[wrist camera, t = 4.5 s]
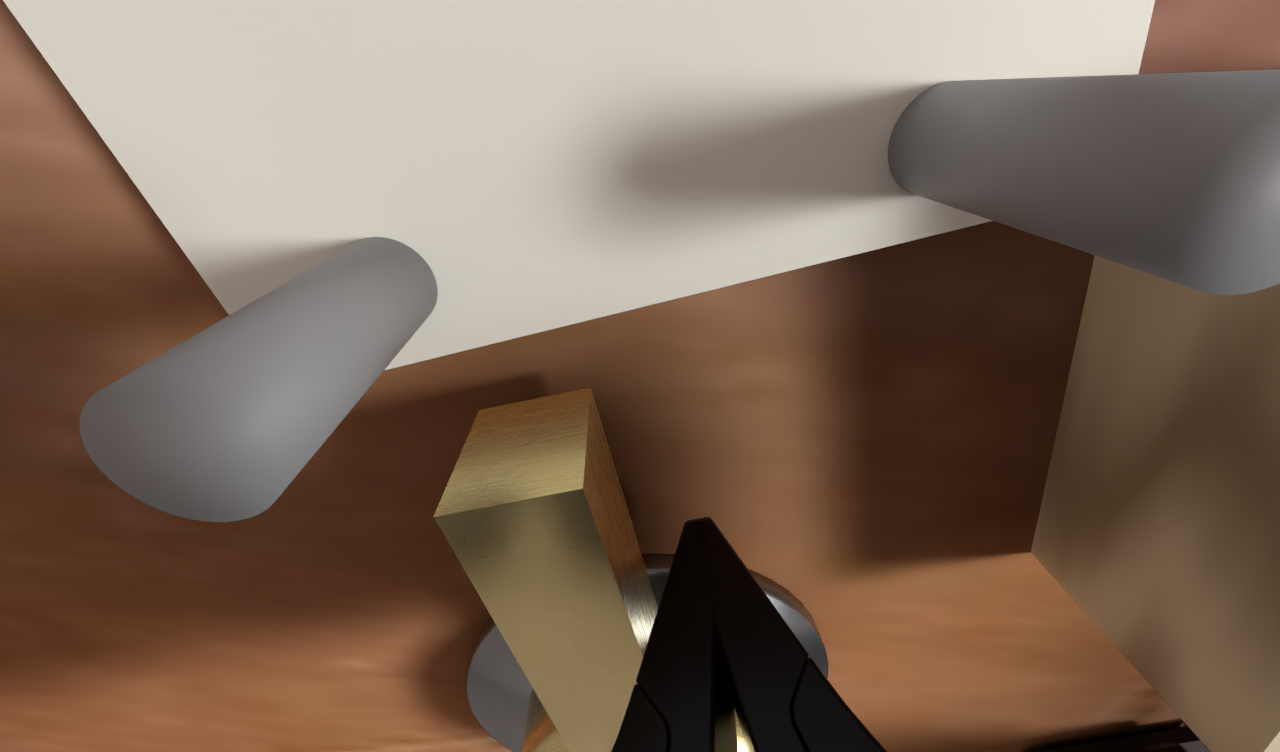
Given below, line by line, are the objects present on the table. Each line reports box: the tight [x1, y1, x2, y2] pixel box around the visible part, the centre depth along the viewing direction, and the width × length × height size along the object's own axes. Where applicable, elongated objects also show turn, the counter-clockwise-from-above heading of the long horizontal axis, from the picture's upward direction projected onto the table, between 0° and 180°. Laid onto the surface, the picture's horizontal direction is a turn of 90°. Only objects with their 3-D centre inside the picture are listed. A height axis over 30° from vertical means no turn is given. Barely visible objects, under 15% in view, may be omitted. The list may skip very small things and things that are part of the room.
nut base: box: [466, 555, 828, 752], centre depth 14 cm, size 10×10×1 cm
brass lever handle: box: [434, 387, 748, 752], centre depth 11 cm, size 14×7×3 cm, turn 12°
